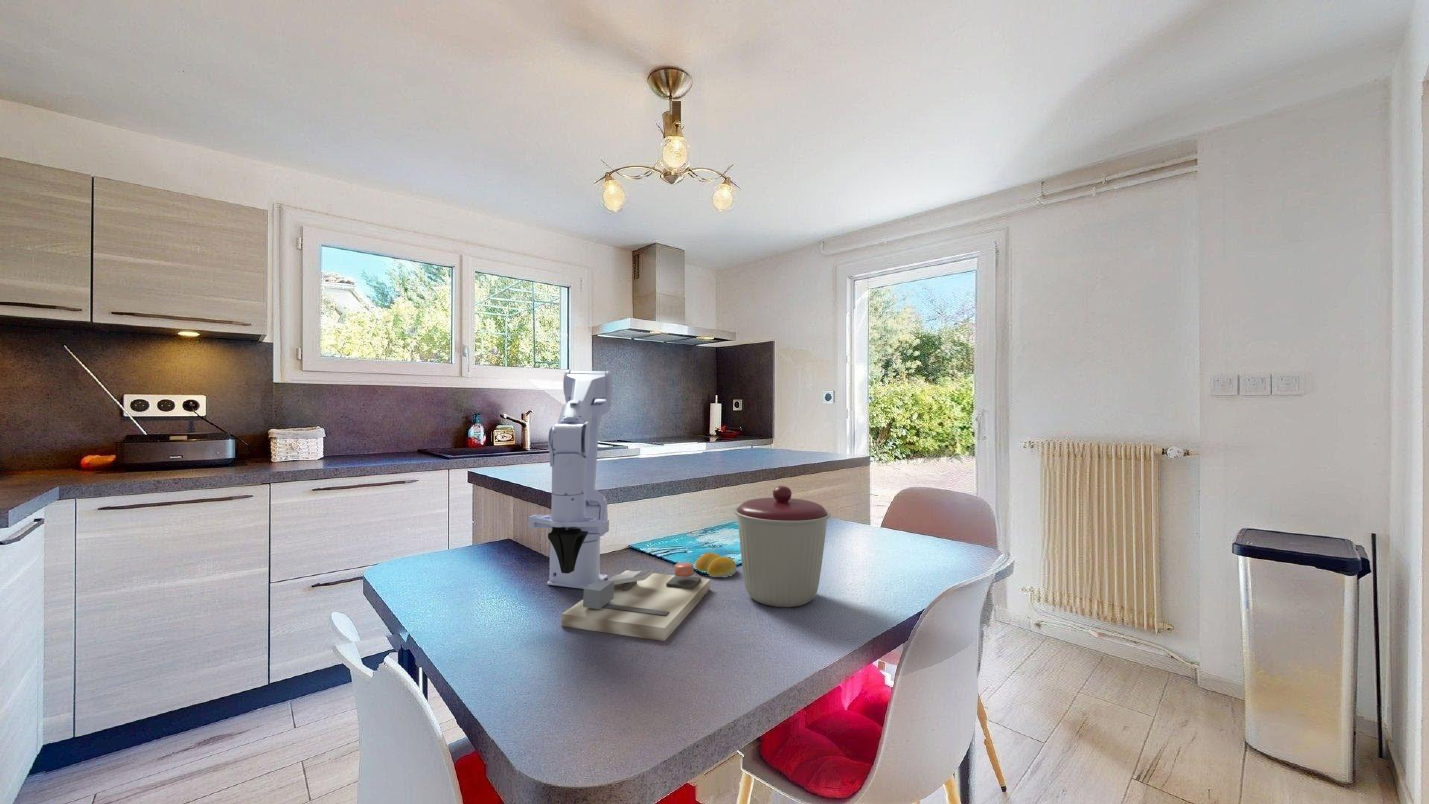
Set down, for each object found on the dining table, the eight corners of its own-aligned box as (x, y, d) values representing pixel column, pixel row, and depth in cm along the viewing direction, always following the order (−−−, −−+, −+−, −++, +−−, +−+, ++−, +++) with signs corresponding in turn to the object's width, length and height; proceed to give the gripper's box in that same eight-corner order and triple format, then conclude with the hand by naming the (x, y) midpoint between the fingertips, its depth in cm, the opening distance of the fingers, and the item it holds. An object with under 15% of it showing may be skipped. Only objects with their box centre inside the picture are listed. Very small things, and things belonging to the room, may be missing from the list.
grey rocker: (605, 586, 100) (604, 581, 100) (615, 579, 103) (614, 574, 103) (644, 579, 97) (643, 575, 97) (653, 573, 101) (652, 568, 101)
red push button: (671, 575, 101) (671, 567, 101) (678, 570, 105) (678, 561, 105) (689, 577, 100) (690, 569, 100) (695, 571, 104) (696, 563, 104)
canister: (824, 584, 110) (825, 480, 110) (835, 619, 92) (837, 495, 92) (735, 580, 111) (737, 478, 111) (729, 613, 93) (731, 492, 93)
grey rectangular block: (583, 606, 89) (583, 588, 89) (597, 596, 94) (598, 579, 94) (599, 609, 88) (599, 590, 88) (613, 598, 93) (613, 581, 93)
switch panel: (561, 626, 87) (561, 606, 87) (625, 579, 110) (626, 564, 110) (664, 641, 82) (665, 620, 82) (709, 589, 105) (710, 573, 105)
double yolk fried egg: (721, 582, 111) (721, 562, 111) (688, 572, 116) (689, 554, 116) (744, 572, 117) (745, 554, 117) (712, 564, 123) (713, 546, 123)
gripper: (518, 494, 91) (517, 574, 91) (595, 499, 87) (593, 583, 87) (542, 488, 98) (541, 562, 98) (615, 492, 94) (614, 570, 94)
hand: (567, 571), depth 93 cm, fingers closed
